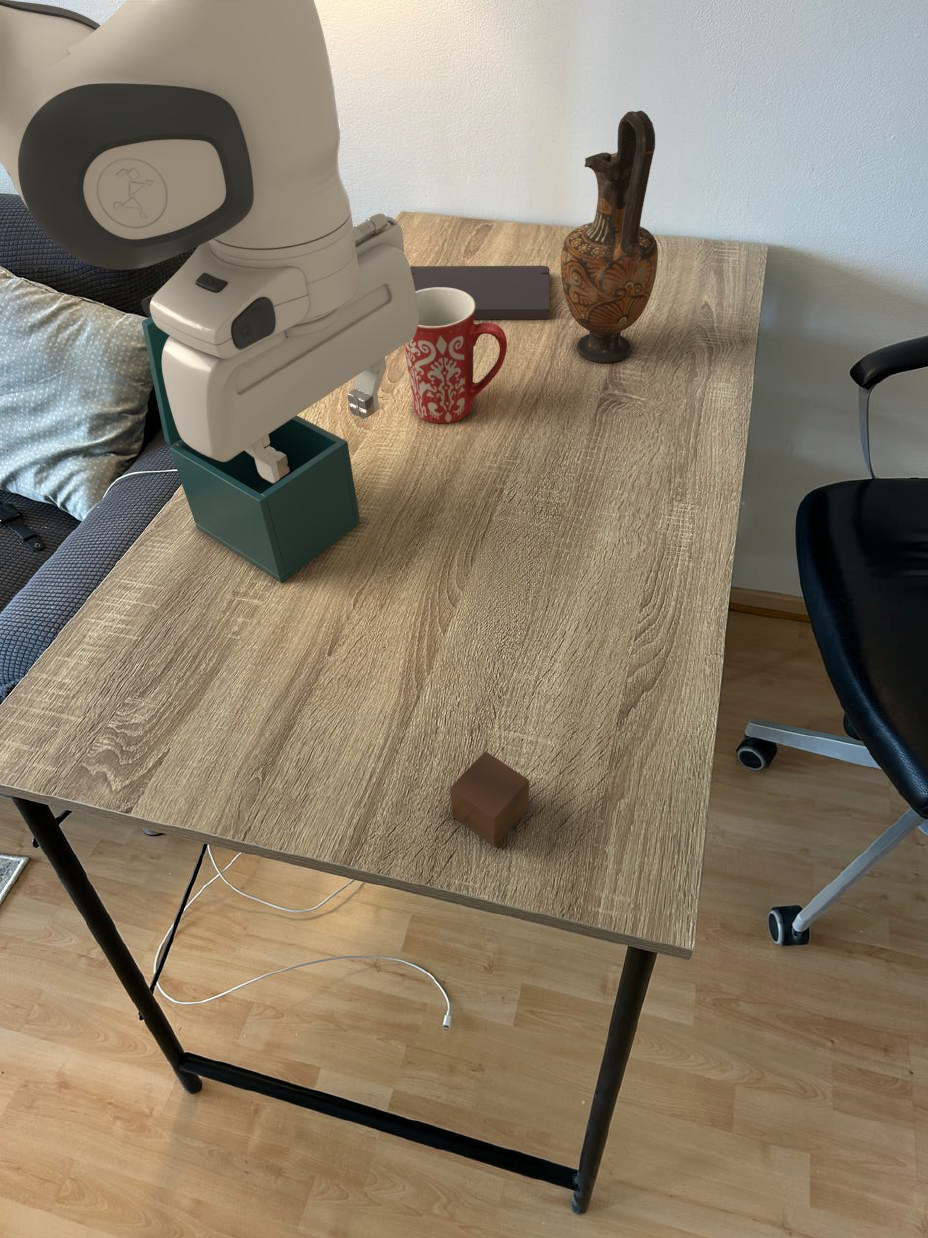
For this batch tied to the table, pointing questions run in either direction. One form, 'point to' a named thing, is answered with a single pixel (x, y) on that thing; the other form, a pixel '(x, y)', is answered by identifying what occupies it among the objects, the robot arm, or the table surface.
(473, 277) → the notebook
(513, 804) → the block
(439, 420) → the mug
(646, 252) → the vase
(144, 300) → the lid
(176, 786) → the table surface
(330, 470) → the teal open-top bin
